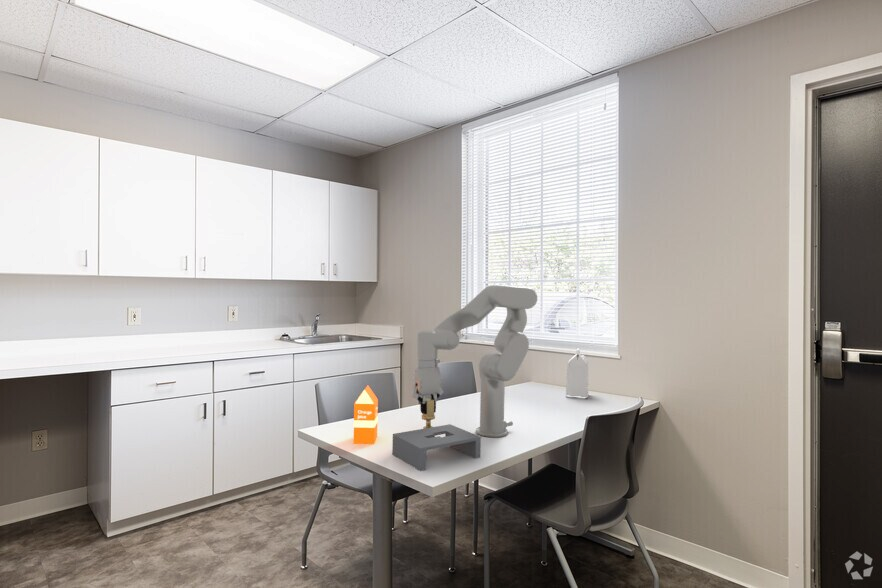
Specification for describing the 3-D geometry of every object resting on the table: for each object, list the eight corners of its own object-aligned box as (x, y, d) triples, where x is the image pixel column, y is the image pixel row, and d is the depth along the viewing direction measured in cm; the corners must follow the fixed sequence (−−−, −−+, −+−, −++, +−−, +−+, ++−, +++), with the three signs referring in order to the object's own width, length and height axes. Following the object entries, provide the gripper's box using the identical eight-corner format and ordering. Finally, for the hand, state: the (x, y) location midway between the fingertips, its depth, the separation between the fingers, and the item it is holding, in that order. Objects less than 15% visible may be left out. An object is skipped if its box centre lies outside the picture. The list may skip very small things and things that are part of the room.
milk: (567, 393, 273) (568, 347, 273) (588, 394, 270) (589, 348, 270) (565, 397, 262) (566, 349, 262) (587, 399, 258) (588, 350, 258)
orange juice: (377, 437, 184) (378, 384, 184) (374, 444, 175) (375, 389, 175) (357, 436, 184) (358, 384, 184) (352, 443, 175) (353, 388, 175)
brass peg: (430, 430, 184) (430, 397, 184) (437, 433, 180) (437, 399, 180) (419, 432, 182) (418, 399, 181) (426, 435, 177) (426, 401, 177)
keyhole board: (449, 443, 178) (450, 424, 178) (480, 457, 163) (480, 436, 163) (392, 454, 165) (392, 433, 164) (420, 471, 150) (420, 448, 150)
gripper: (440, 360, 188) (440, 407, 188) (403, 364, 179) (404, 414, 179) (451, 362, 182) (451, 411, 182) (414, 367, 173) (414, 418, 173)
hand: (428, 412), depth 181 cm, fingers closed on brass peg, 3 cm apart
